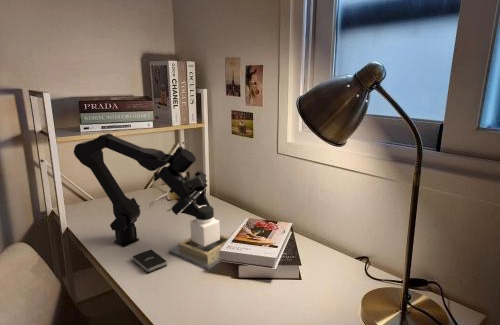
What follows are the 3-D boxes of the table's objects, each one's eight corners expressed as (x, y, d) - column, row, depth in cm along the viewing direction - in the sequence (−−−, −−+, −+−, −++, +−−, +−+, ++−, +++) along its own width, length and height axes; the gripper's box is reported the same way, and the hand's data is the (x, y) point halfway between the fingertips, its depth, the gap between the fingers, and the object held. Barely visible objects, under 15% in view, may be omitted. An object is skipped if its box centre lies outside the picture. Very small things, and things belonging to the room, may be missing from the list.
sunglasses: (193, 202, 164) (191, 192, 162) (169, 217, 153) (167, 207, 151) (172, 196, 172) (170, 187, 170) (148, 210, 160) (145, 201, 159)
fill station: (208, 269, 108) (207, 260, 107) (168, 253, 118) (167, 244, 117) (243, 246, 122) (243, 238, 121) (205, 233, 132) (204, 225, 131)
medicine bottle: (220, 240, 119) (219, 207, 116) (204, 247, 114) (202, 213, 111) (207, 233, 124) (205, 201, 121) (190, 240, 119) (189, 207, 116)
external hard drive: (151, 254, 118) (151, 248, 118) (168, 267, 110) (167, 261, 110) (132, 261, 114) (131, 256, 113) (147, 275, 106) (147, 269, 105)
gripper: (179, 173, 105) (215, 211, 105) (201, 158, 122) (232, 191, 123) (156, 196, 108) (192, 232, 109) (181, 179, 126) (211, 210, 126)
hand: (208, 215), depth 117 cm, fingers closed on medicine bottle, 6 cm apart
